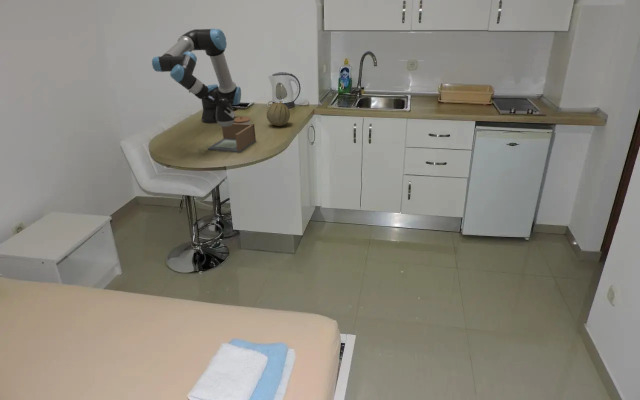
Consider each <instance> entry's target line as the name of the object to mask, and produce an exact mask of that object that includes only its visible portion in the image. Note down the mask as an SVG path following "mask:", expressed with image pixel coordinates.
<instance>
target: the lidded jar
mask: <svg viewBox="0 0 640 400" xmlns="http://www.w3.org/2000/svg"><path fill="white" fill-rule="evenodd" d="M234 123H238V124H251V118H250V117H249V116H242V115H241V116H238V117H235V119H234Z"/></svg>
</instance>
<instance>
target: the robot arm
mask: <svg viewBox="0 0 640 400" xmlns="http://www.w3.org/2000/svg"><path fill="white" fill-rule="evenodd" d="M226 48H227V38H226V35H225V33H224V31H222V30H221V29H220V28H202V29H199V28H197V29H196V28H195V29H192V30H190V31H187V32H185V33H183V34H182V35H181V36H179V37H178V39H177V42H176V43H174V44H173V45H172V46H171V47H170V48H169V49H167V51H166V52H165V53H163V54H162V55H161V56H153V58H152V60H151V66H152V68H153V70H154V72H161V73H164V72H165V73H166V72H168V73H169V72H170V74H169V75H170V77H171V78H172V79H173V80H174V81H175V82H176V83H178V84H179V85H181V86H182V87H183V88H185V89H186V90H187V91H188V93H190V94H191V93H192V94H193V95H194V97H197V99H199V100H201V106H202V114H201V122H202V123H204V124H215V123H218V122H217V121H216V108H217V106H218V107H220V108H221V109H222V110H223V112H226V113H227V114H228V115H230V116H231V117H232V118H234V116H236V115H237V113H236V112H233V111H234V110H233V111H231V110H230V109H229V108H228V107H227V106H225V105H224V104H223V103H222V102H220V101H219V100H220V99H221V98H226V99H227V100H228V101H229V100H233V101H232V102H230V104H231V106H236V105H239V104H240V103H241V99H242V90H241V87H240V86H237V84H236V83H235V81H233V78H232V76H231V73H230V69H229V66H228V63H227V59H226V56H225V51H226ZM194 51H205V54H206V56H208V57H209V58H210V61H211V64H212V67H213V69H214V73H215V76H216V78H217V82H218V84H216V83H215V84H209V85H208V84H207V85H206V84H205V83H203V82H202V81H201V80H200V79H198V78H197V77H196V76H194V71H195V68H196V66H197V60H198V59H197V56H196V54H195V53H194Z"/></svg>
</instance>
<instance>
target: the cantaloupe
mask: <svg viewBox="0 0 640 400" xmlns="http://www.w3.org/2000/svg"><path fill="white" fill-rule="evenodd" d="M290 118H291V112H290V109H289V107H288V106H287V105H286V104H284V103H282V102H281V101H279V102H274V103H271V104H270V105H269V107H268V108H267V110H266V119H267V120H268V122H269V123H270V124H271V125H273V126H275V127H282V126H285V125H286V124H287V123H288V122H289V120H290Z"/></svg>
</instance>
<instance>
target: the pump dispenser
mask: <svg viewBox="0 0 640 400" xmlns="http://www.w3.org/2000/svg"><path fill="white" fill-rule="evenodd" d="M219 101H220V102H222V103H223V104H224V105H225V106H227V107H228V108H229V109H230V110H231V111H233V112H234V108H233V105H231V104H230V102H232V101H233V100H229V101H228V100H227V99H226V98H221V99H220V100H219ZM234 113H235V112H234ZM235 116H236V115H235ZM235 116H234V118H232V117H231V116H230V115H228V114H227V113H226V112H223V110H222V109H221V108H220V107H218V106H217V108H216V121H217V122H216V123H217V124H218V125H219V126H220V127H221V128H222V127H229V126H231V125H232V124H233V123H234V119H235V118H236V117H235Z"/></svg>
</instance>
